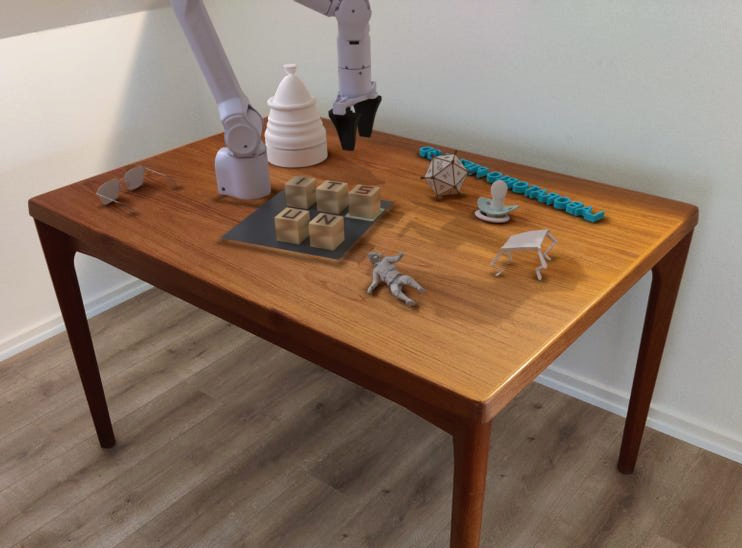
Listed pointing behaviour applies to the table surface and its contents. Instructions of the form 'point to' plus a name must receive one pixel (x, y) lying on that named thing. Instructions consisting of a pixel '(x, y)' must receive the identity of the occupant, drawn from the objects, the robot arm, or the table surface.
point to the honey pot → (294, 125)
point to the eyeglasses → (111, 188)
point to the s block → (364, 201)
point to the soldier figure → (392, 276)
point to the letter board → (267, 228)
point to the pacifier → (495, 204)
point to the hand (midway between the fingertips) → (356, 143)
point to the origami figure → (527, 246)
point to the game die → (446, 174)
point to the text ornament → (524, 188)
